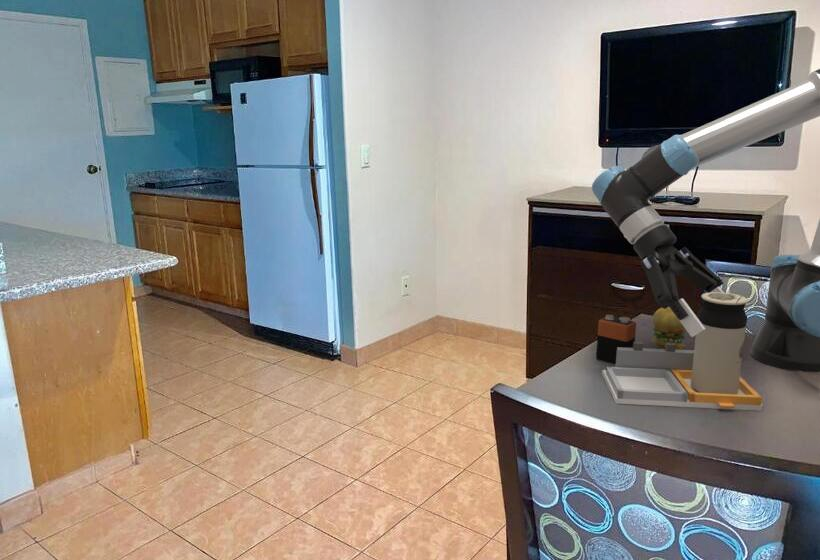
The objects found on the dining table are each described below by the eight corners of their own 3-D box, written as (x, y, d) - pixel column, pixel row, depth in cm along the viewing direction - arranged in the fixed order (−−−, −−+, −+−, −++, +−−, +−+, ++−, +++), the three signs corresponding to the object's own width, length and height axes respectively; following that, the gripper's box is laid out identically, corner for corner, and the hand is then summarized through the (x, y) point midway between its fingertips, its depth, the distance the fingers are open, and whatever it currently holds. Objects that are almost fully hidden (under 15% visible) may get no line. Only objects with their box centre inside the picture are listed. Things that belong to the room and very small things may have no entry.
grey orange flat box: (731, 380, 120) (735, 344, 118) (765, 413, 105) (770, 374, 103) (602, 374, 123) (604, 340, 121) (617, 406, 108) (620, 367, 107)
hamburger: (691, 352, 135) (697, 301, 133) (677, 360, 131) (682, 307, 128) (658, 344, 141) (663, 294, 138) (643, 351, 136) (648, 300, 133)
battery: (624, 367, 127) (628, 322, 125) (595, 359, 131) (597, 315, 129) (633, 361, 130) (637, 317, 128) (604, 354, 135) (607, 311, 132)
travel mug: (683, 389, 113) (693, 297, 109) (699, 378, 118) (709, 289, 114) (729, 402, 107) (741, 305, 103) (743, 389, 113) (755, 296, 109)
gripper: (668, 239, 128) (732, 323, 120) (598, 254, 113) (665, 350, 105) (695, 217, 123) (764, 303, 115) (625, 229, 108) (698, 328, 100)
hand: (717, 325), depth 110 cm, fingers open, 13 cm apart
